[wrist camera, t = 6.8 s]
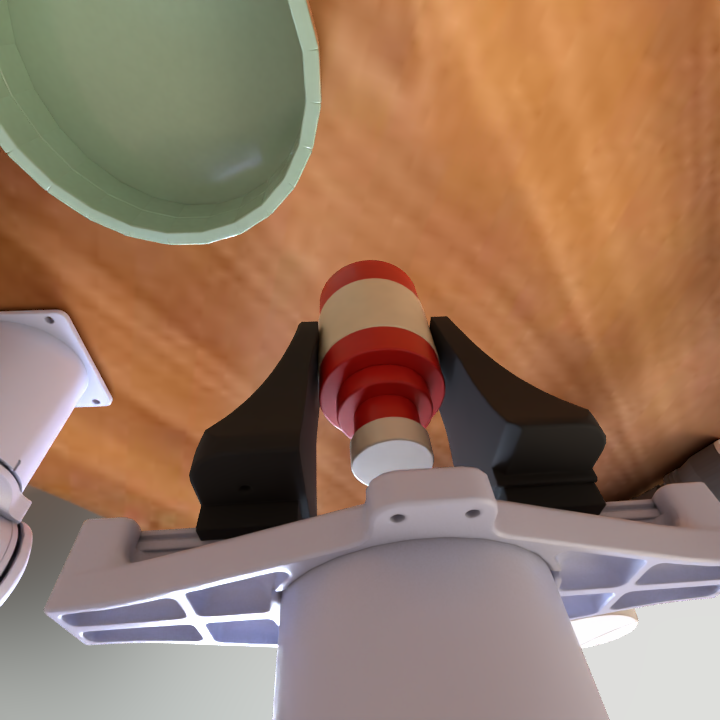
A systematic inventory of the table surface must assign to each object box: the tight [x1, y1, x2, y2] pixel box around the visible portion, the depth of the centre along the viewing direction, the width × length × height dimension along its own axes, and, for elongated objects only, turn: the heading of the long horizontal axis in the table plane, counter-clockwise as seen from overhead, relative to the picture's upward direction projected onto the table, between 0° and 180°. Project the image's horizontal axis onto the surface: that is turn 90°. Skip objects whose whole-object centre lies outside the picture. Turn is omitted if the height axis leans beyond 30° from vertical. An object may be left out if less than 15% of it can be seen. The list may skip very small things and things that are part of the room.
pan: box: [0, 0, 321, 245], centre depth 17 cm, size 13×13×4 cm
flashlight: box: [629, 439, 720, 502], centre depth 41 cm, size 15×5×5 cm, turn 151°
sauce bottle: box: [318, 260, 446, 485], centre depth 15 cm, size 4×4×8 cm
